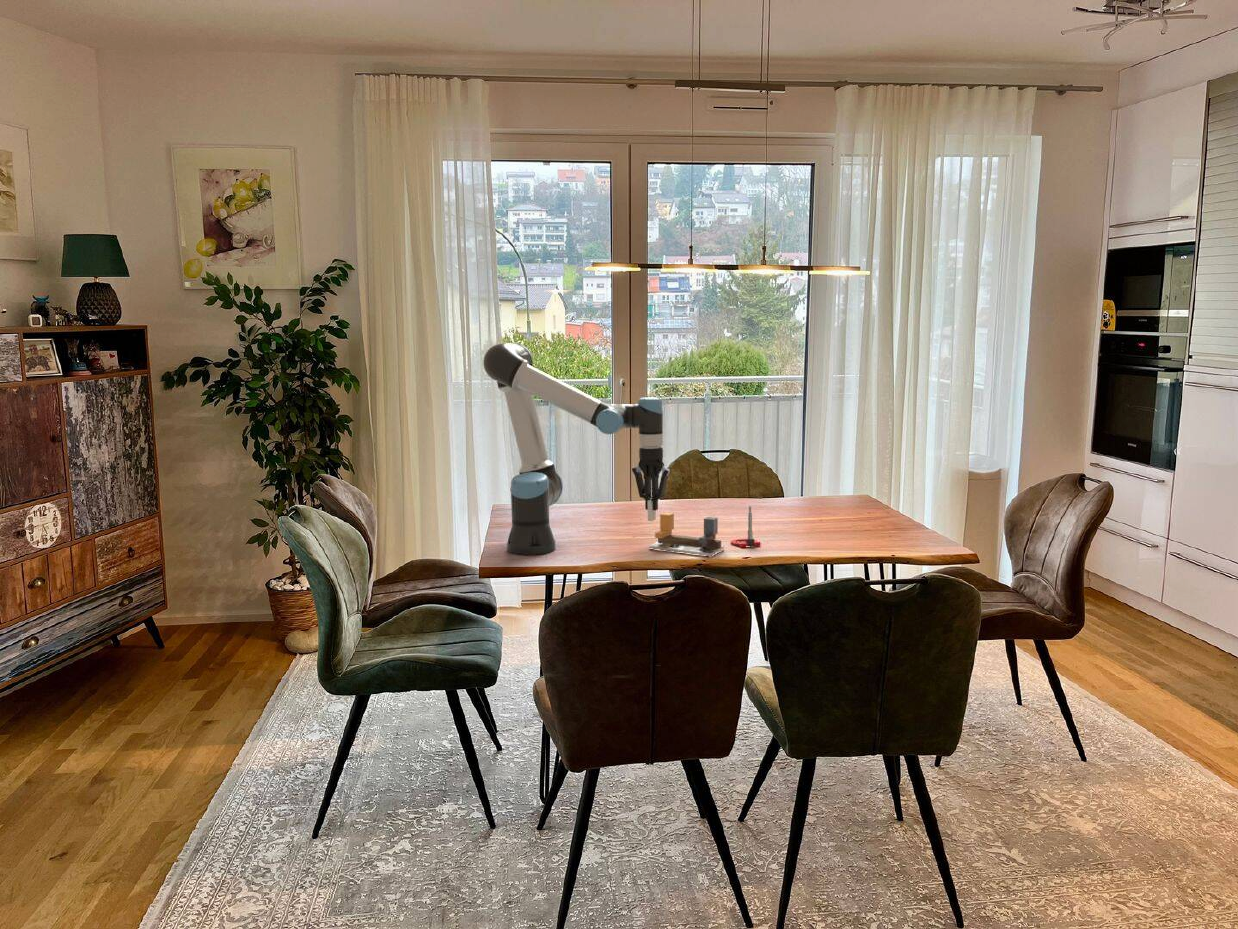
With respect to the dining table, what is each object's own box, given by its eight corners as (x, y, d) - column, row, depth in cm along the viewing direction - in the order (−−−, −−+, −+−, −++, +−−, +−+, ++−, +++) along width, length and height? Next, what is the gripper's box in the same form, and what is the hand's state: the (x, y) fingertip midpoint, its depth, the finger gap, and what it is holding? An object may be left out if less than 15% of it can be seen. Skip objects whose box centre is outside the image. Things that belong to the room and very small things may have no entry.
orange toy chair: (663, 544, 290) (663, 517, 288) (653, 543, 291) (653, 516, 290) (673, 538, 296) (673, 513, 295) (664, 537, 298) (664, 512, 296)
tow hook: (726, 543, 299) (739, 548, 290) (725, 503, 297) (739, 507, 289) (749, 541, 302) (763, 546, 293) (749, 501, 300) (763, 505, 291)
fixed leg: (707, 549, 282) (707, 522, 281) (697, 548, 284) (697, 521, 283) (717, 544, 289) (717, 517, 288) (707, 542, 291) (708, 516, 289)
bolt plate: (710, 557, 280) (710, 547, 280) (648, 549, 290) (648, 539, 290) (723, 550, 289) (723, 539, 288) (662, 542, 299) (662, 533, 298)
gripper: (674, 446, 294) (675, 519, 297) (638, 444, 300) (639, 516, 304) (664, 449, 287) (664, 524, 291) (627, 447, 294) (628, 520, 297)
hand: (651, 520), depth 297 cm, fingers closed
